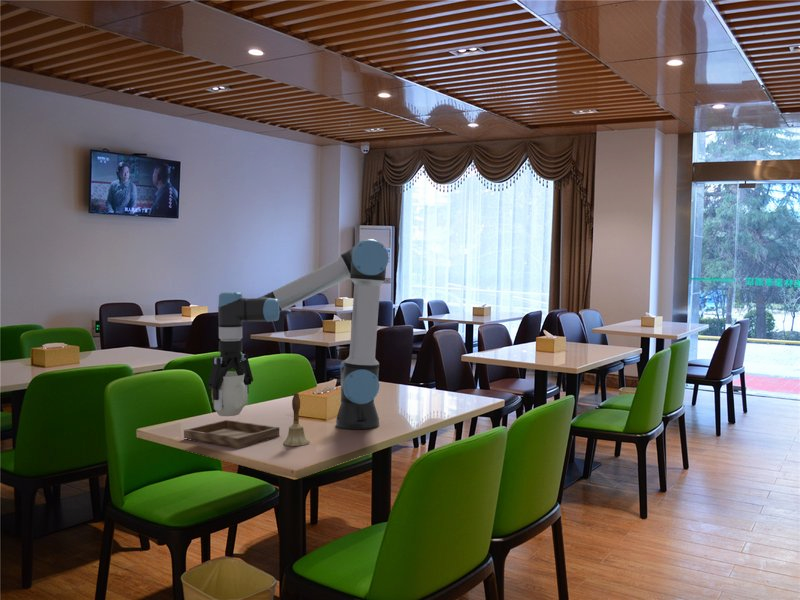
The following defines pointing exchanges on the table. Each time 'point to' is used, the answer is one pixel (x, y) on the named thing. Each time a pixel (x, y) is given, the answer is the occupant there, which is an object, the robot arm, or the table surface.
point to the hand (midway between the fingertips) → (231, 406)
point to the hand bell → (296, 427)
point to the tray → (232, 433)
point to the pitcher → (232, 394)
